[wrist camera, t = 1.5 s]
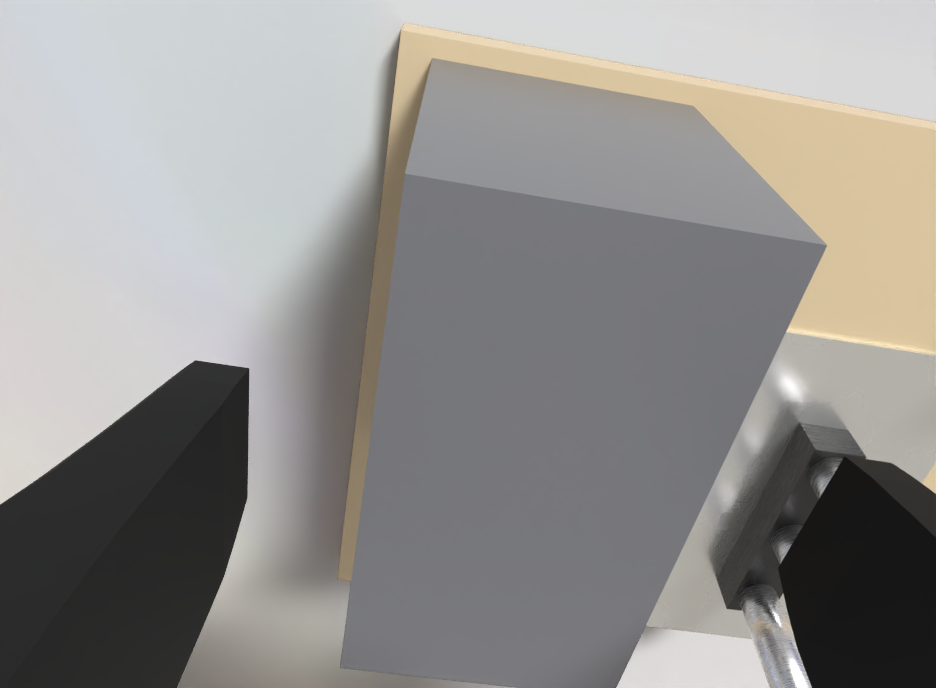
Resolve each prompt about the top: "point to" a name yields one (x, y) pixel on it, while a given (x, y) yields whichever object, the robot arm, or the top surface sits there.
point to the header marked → (794, 483)
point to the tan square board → (773, 157)
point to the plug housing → (557, 374)
